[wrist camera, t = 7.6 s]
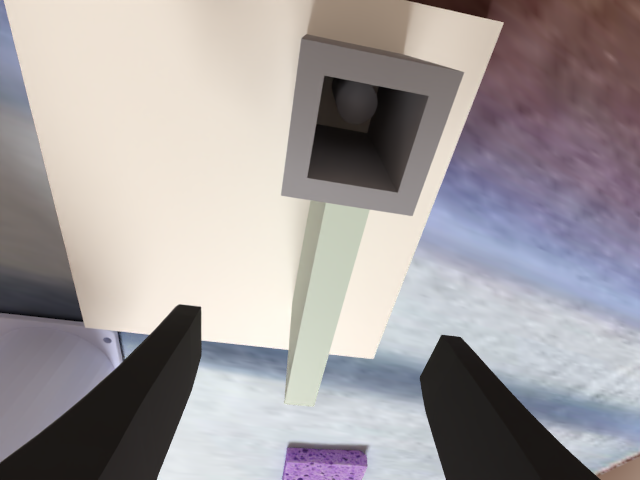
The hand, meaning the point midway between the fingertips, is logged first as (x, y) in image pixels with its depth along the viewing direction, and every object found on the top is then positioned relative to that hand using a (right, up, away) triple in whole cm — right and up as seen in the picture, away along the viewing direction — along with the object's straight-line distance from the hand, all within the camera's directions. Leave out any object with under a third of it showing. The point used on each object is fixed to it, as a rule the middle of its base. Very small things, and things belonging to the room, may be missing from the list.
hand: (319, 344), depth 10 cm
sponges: (0, -20, +23) cm, 31 cm away
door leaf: (0, +5, +5) cm, 7 cm away
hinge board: (-3, +5, +7) cm, 9 cm away
